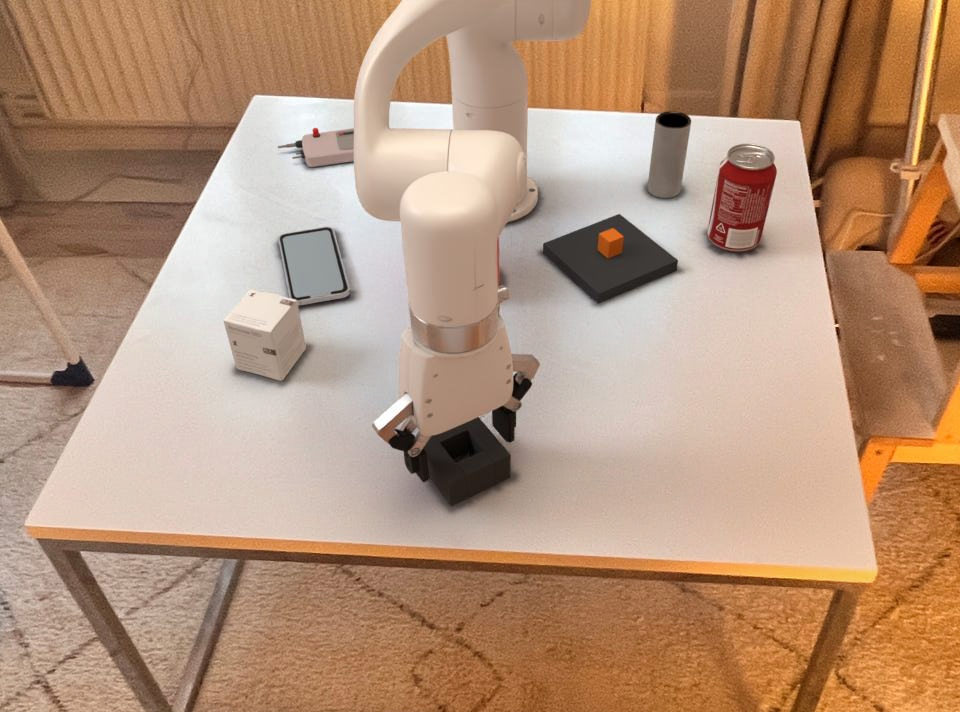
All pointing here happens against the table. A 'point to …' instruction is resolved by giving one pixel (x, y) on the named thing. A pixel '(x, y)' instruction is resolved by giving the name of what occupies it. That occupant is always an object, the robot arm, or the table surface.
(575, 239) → the base pad
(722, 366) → the table surface
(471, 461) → the black square ring block
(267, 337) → the product carton
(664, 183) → the gray hollow cylinder
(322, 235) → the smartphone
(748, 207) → the soda can
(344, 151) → the handheld electronic tester
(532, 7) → the robot arm
